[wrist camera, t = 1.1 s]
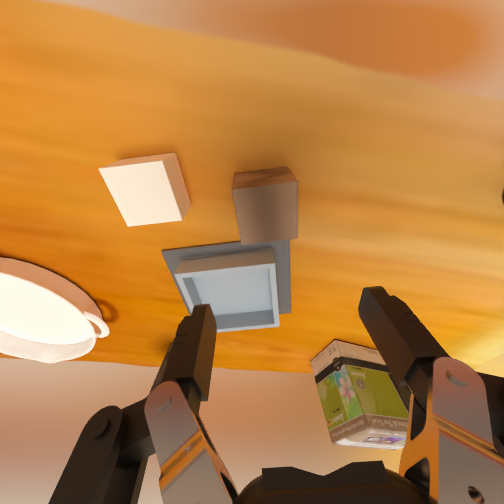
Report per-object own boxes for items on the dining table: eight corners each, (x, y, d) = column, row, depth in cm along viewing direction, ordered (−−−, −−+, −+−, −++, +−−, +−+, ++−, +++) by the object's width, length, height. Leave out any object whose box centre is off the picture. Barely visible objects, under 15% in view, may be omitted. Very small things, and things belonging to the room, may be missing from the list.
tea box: (308, 361, 48) (330, 447, 36) (334, 337, 43) (370, 428, 30) (360, 372, 51) (395, 453, 39) (389, 351, 46) (441, 437, 34)
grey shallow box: (288, 235, 28) (294, 251, 25) (290, 311, 37) (294, 330, 34) (162, 250, 29) (151, 267, 26) (193, 320, 38) (188, 340, 35)
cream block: (175, 152, 22) (162, 160, 19) (191, 204, 26) (182, 220, 22) (122, 159, 23) (98, 168, 19) (144, 210, 26) (128, 226, 22)
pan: (-114, 239, 28) (-163, 256, 24) (98, 254, 30) (80, 272, 27) (-6, 343, 41) (-28, 363, 38) (134, 348, 44) (125, 367, 40)
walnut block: (286, 166, 23) (297, 181, 18) (288, 214, 27) (297, 238, 22) (234, 173, 24) (231, 189, 19) (242, 220, 27) (241, 244, 22)
